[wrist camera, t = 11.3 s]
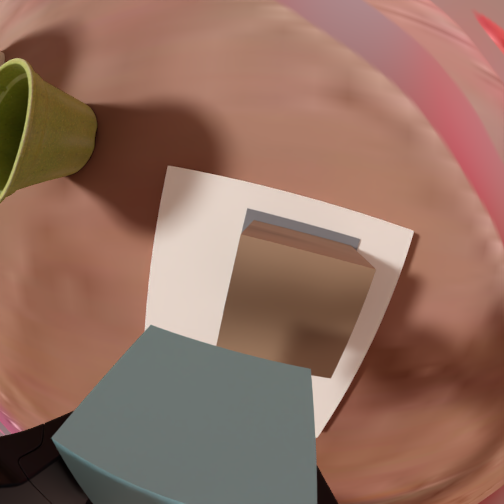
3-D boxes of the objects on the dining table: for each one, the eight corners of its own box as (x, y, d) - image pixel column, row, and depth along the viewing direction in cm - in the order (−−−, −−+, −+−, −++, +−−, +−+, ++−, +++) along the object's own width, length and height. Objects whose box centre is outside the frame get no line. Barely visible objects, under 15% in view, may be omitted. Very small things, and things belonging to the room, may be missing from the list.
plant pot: (137, 131, 17) (50, 108, 9) (68, 219, 19) (-14, 240, 11) (85, 66, 16) (15, 37, 8) (28, 147, 18) (-42, 147, 10)
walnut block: (321, 331, 17) (330, 378, 13) (232, 310, 18) (214, 352, 13) (350, 245, 16) (376, 269, 11) (253, 219, 16) (240, 234, 11)
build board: (316, 430, 21) (317, 438, 20) (147, 386, 22) (142, 393, 21) (407, 228, 16) (414, 231, 15) (173, 166, 17) (167, 165, 16)
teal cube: (267, 454, 9) (252, 558, 4) (149, 420, 9) (98, 510, 4) (310, 368, 8) (317, 523, 3) (150, 324, 8) (51, 437, 3)
